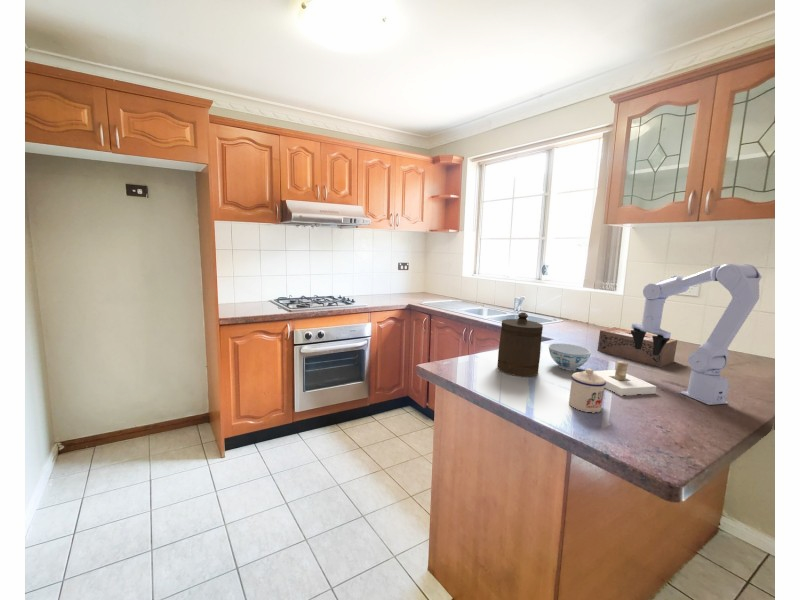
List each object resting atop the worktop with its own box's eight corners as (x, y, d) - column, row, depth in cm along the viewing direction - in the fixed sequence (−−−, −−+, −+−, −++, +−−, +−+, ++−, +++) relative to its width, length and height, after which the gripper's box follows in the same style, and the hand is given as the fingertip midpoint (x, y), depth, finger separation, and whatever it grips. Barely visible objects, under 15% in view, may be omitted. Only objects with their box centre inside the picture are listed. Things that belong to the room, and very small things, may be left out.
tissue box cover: (597, 351, 174) (600, 330, 172) (611, 347, 182) (614, 327, 181) (660, 367, 153) (664, 344, 152) (673, 362, 162) (677, 339, 160)
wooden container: (529, 364, 148) (535, 309, 145) (544, 377, 134) (551, 317, 130) (492, 362, 148) (497, 308, 144) (503, 376, 133) (509, 316, 130)
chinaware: (597, 372, 142) (600, 353, 141) (567, 376, 137) (569, 355, 135) (566, 360, 156) (569, 342, 155) (538, 363, 150) (540, 344, 149)
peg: (625, 385, 129) (629, 363, 128) (622, 387, 127) (625, 364, 126) (615, 382, 132) (619, 360, 131) (612, 384, 130) (615, 362, 128)
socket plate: (655, 393, 124) (656, 386, 123) (620, 395, 120) (621, 388, 120) (616, 376, 139) (617, 369, 139) (585, 377, 136) (585, 371, 135)
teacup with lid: (589, 416, 104) (595, 376, 103) (561, 403, 112) (565, 366, 110) (614, 408, 110) (619, 370, 109) (585, 396, 118) (590, 361, 116)
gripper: (679, 320, 131) (673, 357, 133) (643, 312, 145) (638, 346, 147) (663, 320, 130) (657, 358, 132) (629, 312, 143) (624, 346, 146)
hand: (646, 351), depth 139 cm, fingers open, 7 cm apart
